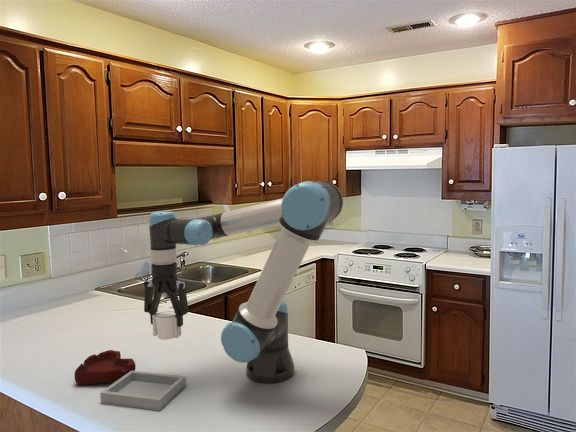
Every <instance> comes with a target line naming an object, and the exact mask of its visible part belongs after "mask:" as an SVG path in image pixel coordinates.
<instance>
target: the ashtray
mask: <svg viewBox="0 0 576 432" xmlns="http://www.w3.org/2000/svg"><path fill="white" fill-rule="evenodd" d="M121 357H122V355H121V351H119V350H113V349H108V350H106V351H102V352H99V353H98V354H92V355H91V354H90V355H89V356H88V357H87V358H86V359H85V360H84V361H83V362H82V363H80V364H79V365H78V367H77V368H76V369H75V370H74V380H75V383H76V384H77V385H79V386H90V385H96V384H102V383H103V384H104V383H115V382H116V381H117V380H119V379H120V378H122V377H123V376H124V375H126V374H127V373H129V372H130V371H136V367H137V366H136V362H135V360H134V359H133V358H121Z"/></svg>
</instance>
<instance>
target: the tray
mask: <svg viewBox="0 0 576 432" xmlns="http://www.w3.org/2000/svg"><path fill="white" fill-rule="evenodd" d="M185 386H187V379H186V376H185V375H176V374H167V373H157V372H147V371H140V370H139V371H137V370H135V371H130V372H129V373H127V374H126V375H124V376H123V377H122V378H120V379H119V380H117V381H114V382H112V384H110V385H108V387H106V388H105V389H103V390H102V391H100V403H101V404H106V405H114V406H120V407H127V408H128V407H130V408H136V409H143V410H144V409H145V410H151V411H156V412H157V411H160V412H161V411H162V410H163V408H165V407H166V406H167V405H168V404H169V403H170V402H171V401H172V400H173V399H174V398H175V397H177V395H179V393H180V392H182V391H183V390H184V389H185V388H186V387H185ZM184 387H185V388H184Z"/></svg>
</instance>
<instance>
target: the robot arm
mask: <svg viewBox="0 0 576 432" xmlns="http://www.w3.org/2000/svg"><path fill="white" fill-rule="evenodd" d="M343 205H344V197H343V195H342V193H341V190H340V189H339V188H338V187H337V186H336V185H335V184H333V183H332V182H329V181H326V180H320V181H319V180H318V181H313V180H312V181H309V180H308V181H302V182H299V183H297V184H294V185H293V186H291V187H290V188H289V189H288V190H286V192H285V193H284V195H283V197H282V198H277V199H273V200H270V201H266V202H262V203H257V204H254V205H249V206H246V207H244V206H243V207H242V208H237V209H232V210H229V211H225V212H220V213H216V214H211V215H206V216H200V217H194V218H176V215H175V212H173V211H167V210H166V211H155V212H152V213H150V215H149V218H148V219H149V220H148V221H149V225H148V228H149V240H150V242H149V243H150V262H151V265H150V266H151V267H150V268H151V269H150V270H151V276H152V278H151V279H148V280H147V279H146V280H144V281H143V287H144V302H143V303H144V305H143V311H144V312H145V313H148V314H149V317H150V318H149V319H150V324H151V325H152V335H153V337H156V336H158V334H157V327H156V320H155V315H156V314H158V313H159V310H158V309H159V306H160V301H161V299H162V295H163V293H164V294H166V295H167V296H168V297H169V300H170V303H171V306H172V309H173V312H175V314H176V316H175V317H174V335H175V338H174V339H178V338H180V337H181V336H182V326H183V325H184V316H185V315H186V314H188V313H189V311H190V310H189V305H188V297H187V290H186V289H187V281H180V280H179V279H178V277H177V274H178V264H177V263H178V262H176V261H177V245H188V246H189V245H190V246H195V247H197V246H205V245H208V243H209V242H210V241H211V240H215V239H221V238H223V237H229V236H234V235H237V234H242V233H246V232H251V231H252V232H253V231H256V230H261V229H266V228H267V229H268V228H270V227H276V226H280V231H279V234H277V238H276V240H275V242H274V244H273V247H272V248H271V251H270V253H269V256H268V257H267V260H266V261H265V264H264V266H263V268H262V269H261V272H260V274H259V277H258V278H257V281H256V282H255V286H254V288H252V289H253V290H252V292H251V294H250V296H249V298H248V301H245V302H243V303H241V304H240V305H239V307H238V309H237V311H236V313H235V316H234V318H233V320H232V321H231V322H229V323H228V324H226V325H225V327H224V328H223V329H222V331H221V336H220V341H221V345H222V347H223V350H224V352H225V354H226V355H227V356H228V357H229V358H230V359H232V360H234V361H235V362H237V363H242V364H243V363H246V367H245V372H246V373H245V374H246V376H247V378H248V379H249V380H252V381H254V382H257V383H262V384H275V383H280V382H284V381H287V380H289V379H290V378H292V377H293V376H294V374H295V363H294V359H293V357H292V354H291V350H290V349H289V311H288V304H287V303H286V302H285V301H284V298H285V297H286V294H287V292H288V290H289V288H290V286H291V284H292V283H293V281H294V278H295V276H296V275H297V272H298V270H299V268H300V265H301V263H302V262H303V260H304V257H305V255H306V253H307V251H308V250H309V247H310V246H311V244H312V243H315V242H318V241H319V240H320V238H321V236H322V234H323V233H324V230H325V229H326V226H327V224H328V223H330V222H332V221H334V220H336V219H337V217H339V215H340V214H341V212H342V210H343ZM153 286H154V287H153ZM176 286H177V287H176ZM153 290H154V291H153Z"/></svg>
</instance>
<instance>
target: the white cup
mask: <svg viewBox="0 0 576 432" xmlns="http://www.w3.org/2000/svg"><path fill="white" fill-rule="evenodd" d="M157 313H158V314H156V315H155V320H156V327H157V334H158V335H157V338H158V339H159V340H162V341H164V340H172V339H176V338H175V335H174V317H175V316H176V314H175V311H174V310H172V311H162V312H157Z"/></svg>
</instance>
